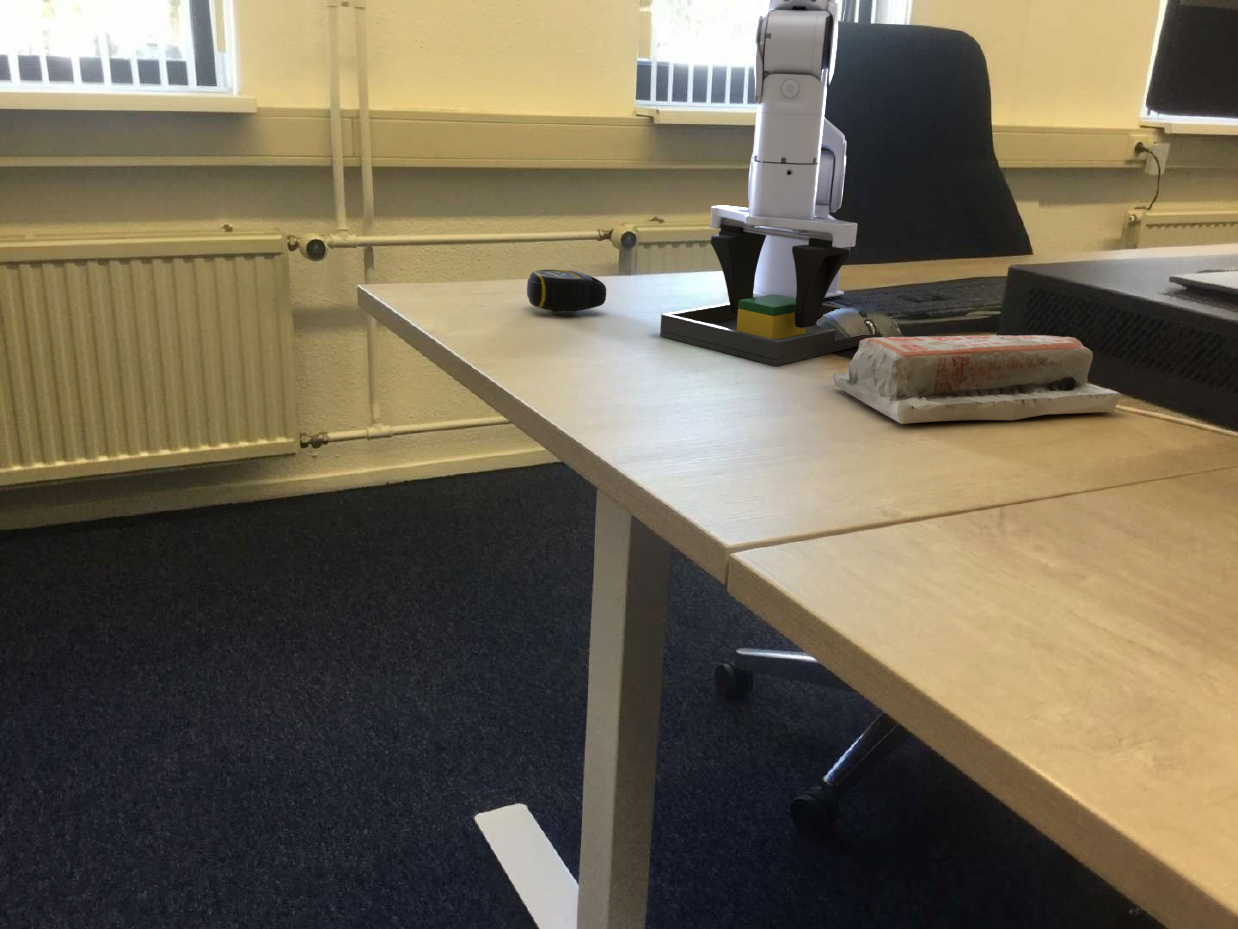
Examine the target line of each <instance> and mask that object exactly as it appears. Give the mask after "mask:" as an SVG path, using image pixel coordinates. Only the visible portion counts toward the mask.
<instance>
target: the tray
mask: <svg viewBox="0 0 1238 929" xmlns="http://www.w3.org/2000/svg"><path fill="white" fill-rule="evenodd" d="M780 296H784V295H780ZM784 297H789V296H784ZM789 298H794V297H789ZM794 299H796V298H794ZM840 308H845V307H844V306H839V305H834V304H828V303H824V302H823V303H822V306H821V309H820V311H819V314H818V317H817V320H818V319H820V318H821V317H822V316H823V314H825V313H828V312H830V311H834V310H835V309H840ZM889 318H890V319H893V320H894V317H893V316H889ZM817 320H816V322H817ZM737 321H738V313H733V312H731V309H730V303H729V302H726V303H721V304H716V305H710V306H709V305H708V306H703V307H698V308H691V309H684V310H679V311H673V312H666V313H661V314H660V331H659V337H663V338H666V339H671V340H674V341H678V342H682V343H686V344H689V345H693V346H697V347H701V348H705V349H709V350H713V351H717V352H720V353H724V354H728V355H733V356H736V357H739V358H744V359H747V360H751V361H755V362H758V363H762V364H767V365H771V366H774V367H778V366H781V365H782V366H783V365H786V364H789V363H794V362H799V361H802V360H807V359H811V358H815V357H821V356H824V355H828V354H832V353H836V352H840V351H845V350H848V349H853V348H857V347H859V342H860V340H863V339H866V338H880V337H882V334H881V335H879V334H874V335H873V334H872V335H860V336H855V337H851V338H847V339H842V340H838V341H835V334H836V331H837V329H834V328H832V329H824V328H822V327H820V326H817V324H815V326H810V327H806V331H805V334H802V335H797V336H792V337H788V338H783V339H778V340H774V339H770V338H766V337H762V336H757V335H753V334H749V333H745V332H741V331H737ZM883 335H884V334H883Z"/></svg>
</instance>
